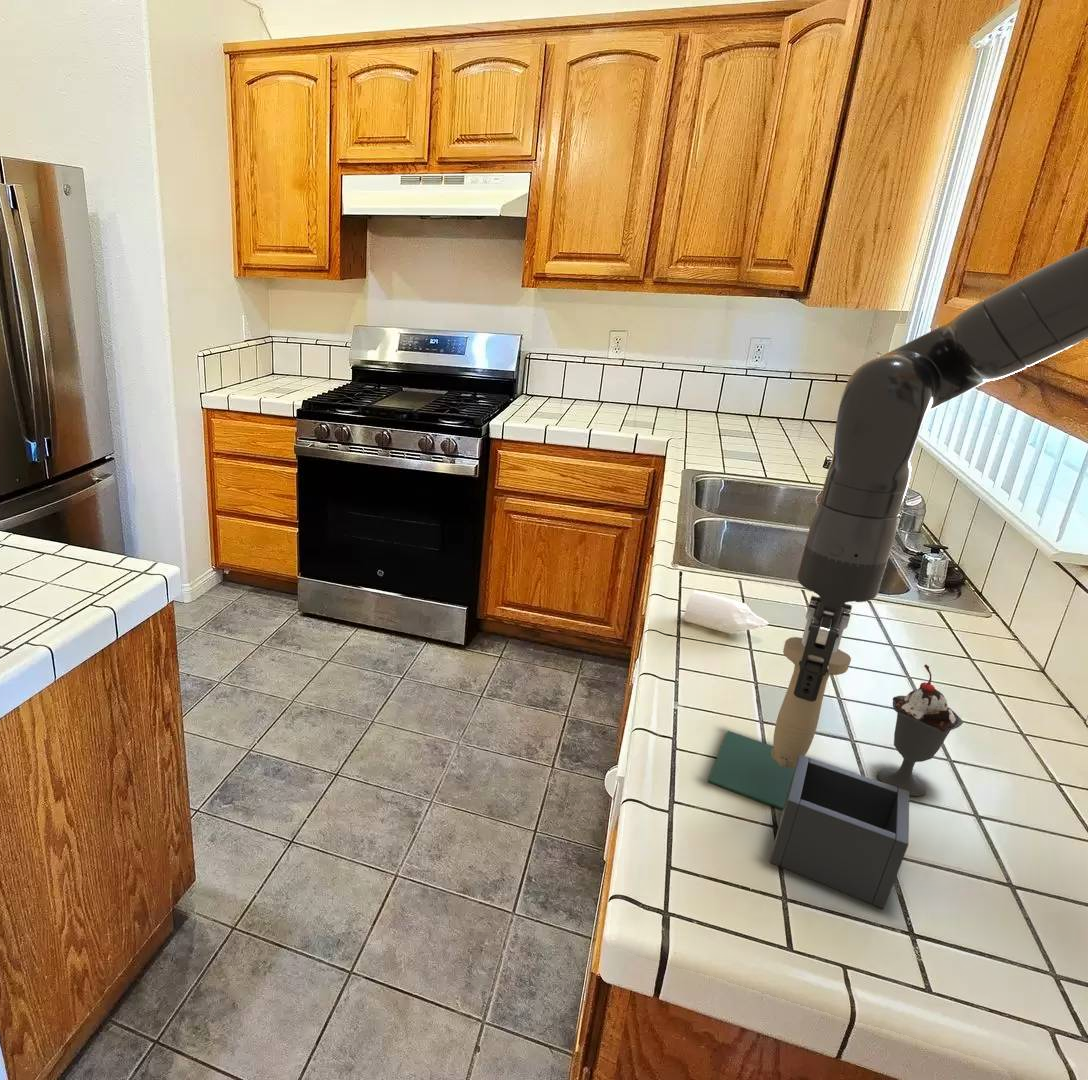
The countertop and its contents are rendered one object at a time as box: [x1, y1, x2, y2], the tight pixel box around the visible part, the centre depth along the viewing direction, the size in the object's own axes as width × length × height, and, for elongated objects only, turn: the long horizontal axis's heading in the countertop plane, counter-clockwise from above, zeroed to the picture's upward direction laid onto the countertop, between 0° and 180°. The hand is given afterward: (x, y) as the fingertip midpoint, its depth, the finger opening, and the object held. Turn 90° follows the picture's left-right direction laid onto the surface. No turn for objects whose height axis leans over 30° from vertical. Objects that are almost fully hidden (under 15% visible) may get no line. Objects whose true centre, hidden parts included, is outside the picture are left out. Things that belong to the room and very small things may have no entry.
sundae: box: [877, 663, 964, 797], centre depth 87 cm, size 7×7×15 cm
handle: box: [771, 636, 852, 769], centre depth 86 cm, size 5×6×15 cm
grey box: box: [769, 754, 910, 910], centre depth 77 cm, size 10×9×8 cm
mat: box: [707, 730, 795, 811], centre depth 90 cm, size 14×12×1 cm
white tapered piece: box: [683, 590, 769, 635], centre depth 123 cm, size 6×12×6 cm, turn 51°
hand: (807, 686), depth 85 cm, fingers closed on handle, 5 cm apart
